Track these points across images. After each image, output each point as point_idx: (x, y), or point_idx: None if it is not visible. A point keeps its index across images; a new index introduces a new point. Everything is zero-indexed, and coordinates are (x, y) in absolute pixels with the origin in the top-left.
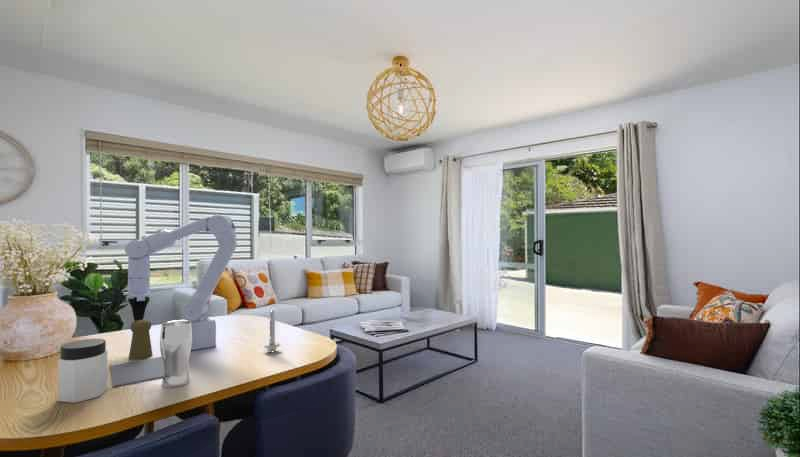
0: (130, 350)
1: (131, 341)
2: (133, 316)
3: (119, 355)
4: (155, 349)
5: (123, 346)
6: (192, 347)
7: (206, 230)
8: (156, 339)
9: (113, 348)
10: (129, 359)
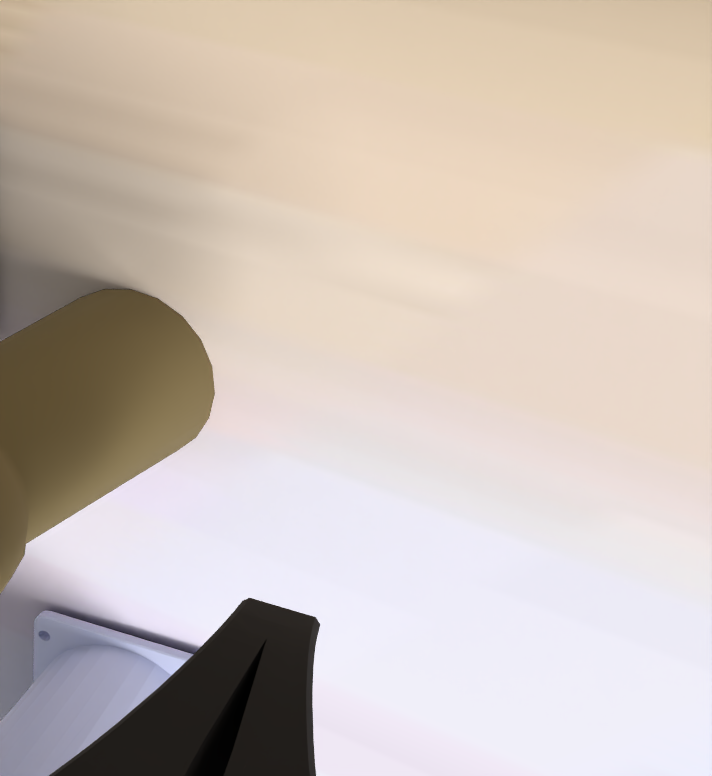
0: (70, 315)
1: (22, 350)
2: (221, 649)
3: (308, 271)
4: (269, 527)
5: (626, 401)
6: (43, 669)
7: None
8: (607, 664)
9: (638, 311)
10: (110, 289)
